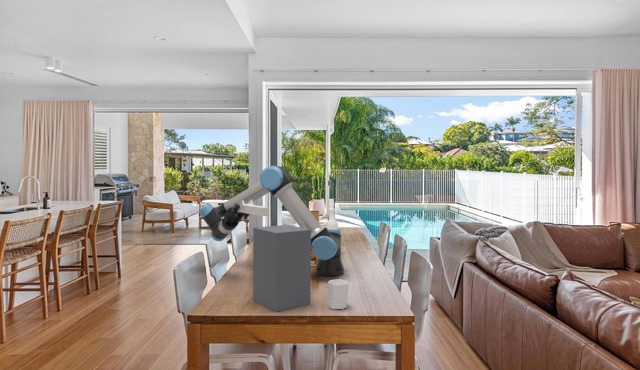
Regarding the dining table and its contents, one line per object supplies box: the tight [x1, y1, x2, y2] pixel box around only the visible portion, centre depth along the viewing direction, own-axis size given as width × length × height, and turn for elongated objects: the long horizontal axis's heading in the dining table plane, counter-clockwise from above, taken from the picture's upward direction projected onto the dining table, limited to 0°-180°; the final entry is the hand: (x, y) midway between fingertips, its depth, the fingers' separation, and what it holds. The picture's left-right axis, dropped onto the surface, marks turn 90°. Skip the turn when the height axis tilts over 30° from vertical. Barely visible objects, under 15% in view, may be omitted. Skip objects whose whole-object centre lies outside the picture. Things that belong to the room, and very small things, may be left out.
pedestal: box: [252, 224, 312, 313], centre depth 172 cm, size 18×16×30 cm
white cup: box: [327, 279, 349, 310], centre depth 167 cm, size 8×8×10 cm
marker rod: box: [235, 203, 270, 217], centre depth 192 cm, size 26×4×4 cm, turn 37°
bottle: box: [325, 207, 339, 230], centre depth 267 cm, size 8×8×30 cm
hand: (247, 202), depth 195 cm, fingers closed on marker rod, 4 cm apart
